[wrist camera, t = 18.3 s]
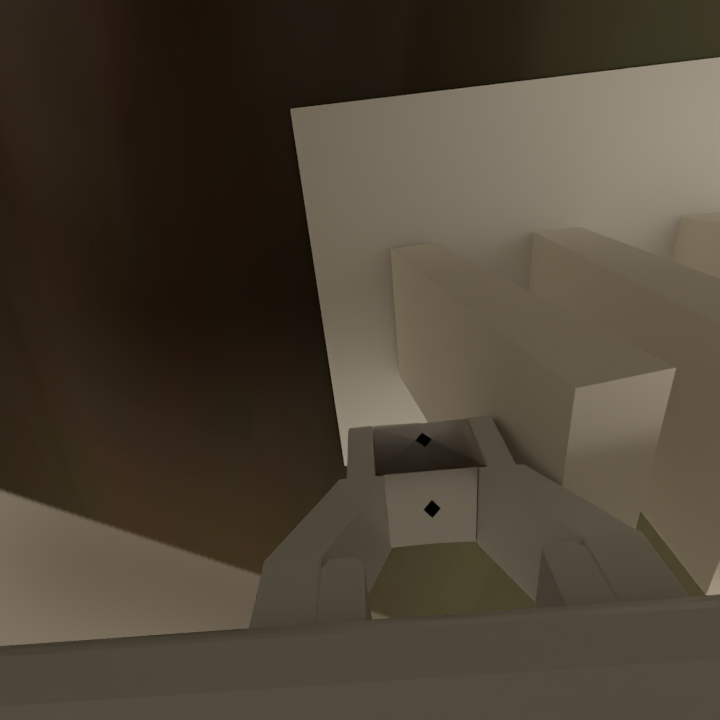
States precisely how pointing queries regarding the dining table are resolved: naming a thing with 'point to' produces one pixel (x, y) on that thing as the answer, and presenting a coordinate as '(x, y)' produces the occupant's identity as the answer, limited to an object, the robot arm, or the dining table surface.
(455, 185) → the mat
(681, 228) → the domino
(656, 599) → the robot arm
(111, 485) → the dining table surface
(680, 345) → the domino
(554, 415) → the domino
